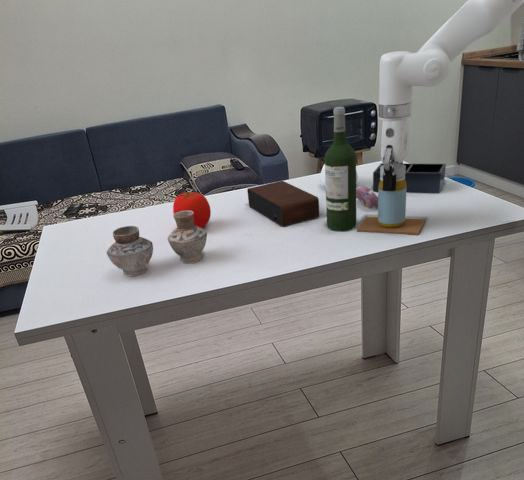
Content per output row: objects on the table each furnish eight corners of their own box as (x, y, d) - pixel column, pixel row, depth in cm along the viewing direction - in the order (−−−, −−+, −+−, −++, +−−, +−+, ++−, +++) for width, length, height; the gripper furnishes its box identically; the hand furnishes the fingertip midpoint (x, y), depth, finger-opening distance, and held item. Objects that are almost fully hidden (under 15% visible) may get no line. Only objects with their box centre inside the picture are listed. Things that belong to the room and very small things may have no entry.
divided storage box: (444, 183, 169) (445, 163, 166) (439, 193, 161) (440, 173, 158) (380, 181, 177) (381, 163, 173) (372, 191, 169) (373, 172, 166)
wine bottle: (323, 230, 145) (318, 111, 129) (332, 220, 151) (329, 105, 134) (351, 232, 142) (349, 110, 125) (360, 222, 147) (359, 104, 131)
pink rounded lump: (357, 207, 162) (347, 189, 158) (369, 198, 162) (360, 179, 158) (374, 216, 154) (365, 197, 150) (387, 206, 154) (378, 186, 150)
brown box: (319, 217, 153) (318, 197, 150) (282, 227, 150) (281, 206, 147) (282, 198, 172) (281, 180, 169) (249, 206, 168) (247, 187, 165)
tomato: (190, 220, 162) (184, 185, 157) (219, 224, 158) (213, 187, 152) (169, 233, 155) (161, 196, 149) (198, 237, 150) (192, 199, 144)
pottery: (215, 262, 134) (208, 215, 127) (115, 285, 128) (102, 237, 122) (204, 247, 143) (197, 203, 137) (111, 268, 138) (98, 223, 131)
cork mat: (425, 221, 143) (425, 219, 143) (418, 235, 136) (418, 232, 135) (366, 218, 149) (366, 216, 149) (356, 231, 142) (356, 229, 142)
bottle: (388, 230, 138) (389, 171, 130) (372, 223, 144) (373, 166, 136) (410, 224, 140) (413, 166, 132) (394, 217, 146) (396, 161, 138)
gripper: (403, 118, 119) (400, 197, 129) (417, 103, 132) (414, 176, 142) (370, 119, 122) (369, 196, 132) (387, 104, 135) (385, 176, 145)
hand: (392, 185), depth 137 cm, fingers closed on bottle, 7 cm apart
